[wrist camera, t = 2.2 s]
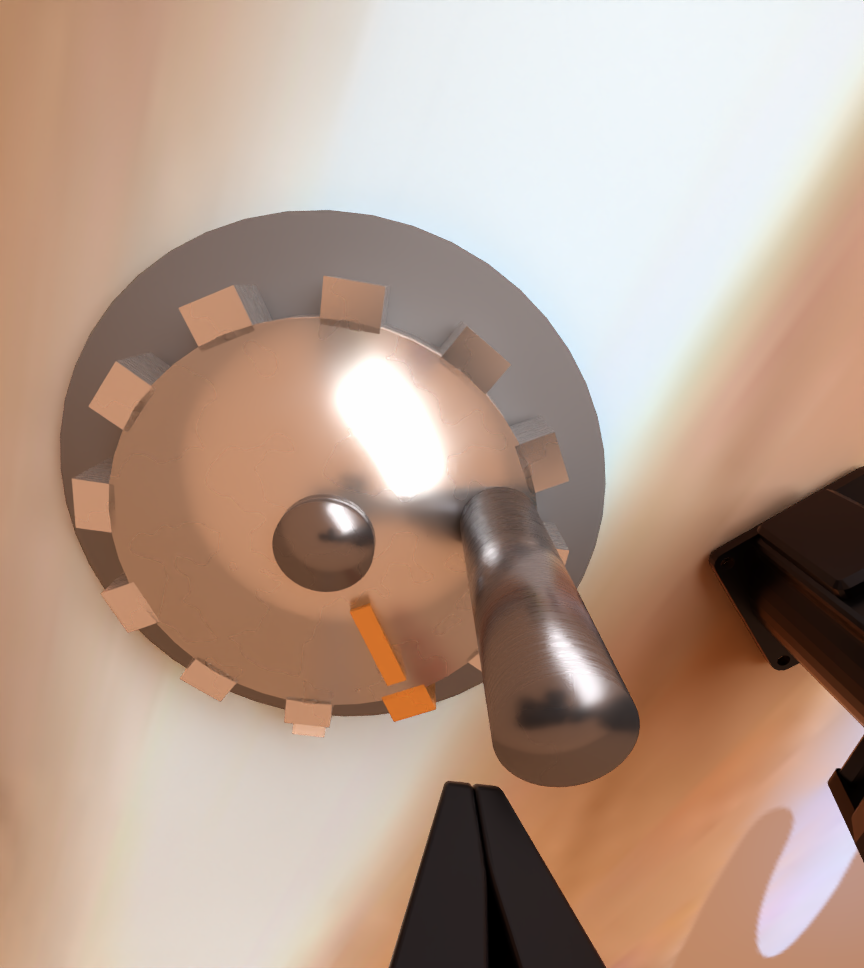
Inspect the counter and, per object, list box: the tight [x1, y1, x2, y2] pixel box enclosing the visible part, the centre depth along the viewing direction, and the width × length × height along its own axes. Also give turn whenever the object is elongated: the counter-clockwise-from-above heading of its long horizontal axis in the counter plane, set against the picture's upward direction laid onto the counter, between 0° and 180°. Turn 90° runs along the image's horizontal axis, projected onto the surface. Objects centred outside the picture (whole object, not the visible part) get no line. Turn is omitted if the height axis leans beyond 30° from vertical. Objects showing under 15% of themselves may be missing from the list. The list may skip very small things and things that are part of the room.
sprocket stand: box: [60, 210, 605, 737], centre depth 18 cm, size 19×19×2 cm
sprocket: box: [72, 276, 640, 787], centre depth 13 cm, size 15×15×10 cm
